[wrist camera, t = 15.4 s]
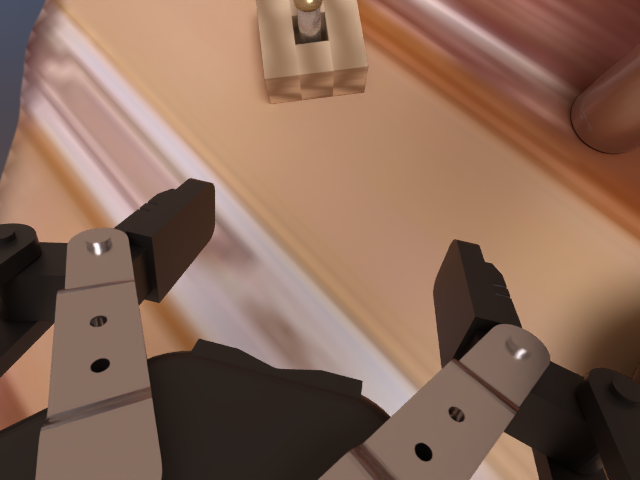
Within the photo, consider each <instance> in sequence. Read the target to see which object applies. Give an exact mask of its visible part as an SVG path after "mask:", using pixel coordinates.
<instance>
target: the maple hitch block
mask: <svg viewBox="0 0 640 480" xmlns="http://www.w3.org/2000/svg"><path fill="white" fill-rule="evenodd" d="M256 5H257V14H258V23H259V32H260V42H261V51H262V60H263V69H264V78H265V83H266V87H267V90H268V94H269V98H270V102H271V104H273V103H281V102H289V101H297V100H305V99H313V98H321V97H329V96H337V95H345V94H353V93H361V92H364V89H365V83H366V77H367V71H368V62H367V56H366V51H365V45H364V39H363V34H362V28H361V22H360V17H359V11H358V5H357V0H323V2H322V5H321V6H320V13H321V42H314V43H306V44H300V36H299V26H298V16H297V8H296V7H295V5H294V3H293V0H256Z"/></svg>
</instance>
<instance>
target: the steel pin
mask: <svg viewBox="0 0 640 480" xmlns="http://www.w3.org/2000/svg"><path fill="white" fill-rule="evenodd" d="M322 2H323V0H293V3H294V5H295V7H296V8H297V16H298V26H299V36H300V44H306V43H314V42H321V13H320V6H321V5H322Z"/></svg>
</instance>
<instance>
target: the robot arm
mask: <svg viewBox="0 0 640 480" xmlns="http://www.w3.org/2000/svg"><path fill="white" fill-rule="evenodd" d="M571 120H572V124H573V127H574V129H575V131H576V133H577V134H578V136H579V137H580V138H581V139H582V140H583V141H584V142H585V143H586V144H588V145H589V146H590V147H592V148H594V149H596V150H598V151H601V152H605V153H614V154H617V153H624V152H627V151H630V150H632V149H634V148H636V147H637V146H639V145H640V42H639V43H638V44H637V45H636V46H634V47H633V48H632V49H631V50H630V51H629V52H628V53H626V54H625V55H624V56H623V57H622V58H621V59H620V60H619V61H617V62H616V63H615V64H614V65H613V66H612V67H611V68H609V69H608V70H607V71H606V72H605V73H604V74H603V75H601V76H600V77H599V78H598V79H597V80H596V81H595V82H594V83H592V84H591V85H590V86H589V87H588V88H587V89H586V90H584V91H583V92H582V93H581V94H580V95H579V96H578V97H577V98H576V100H575V102H574V103H573V106H572V109H571ZM214 228H215V187H214V184H213V183H210V182H205V181H201V180H197V179H192V178H190V179H188V180H187V181H185V182H184V183H183V184H182V185H181V186H179V187H178V188H177V189H176V190H175V189H170V190H167V191H164V192H162V193H159V194H157V195H156V196H154V197H153V198H152V199H151V200H149V201H148V203H145V204H144V205H143V206H142V207H140V210H139V209H138V210H137V211H135V212H134V213H133V214H131V215H130V216H129V217H128V218H126V219H125V220H124V221H122V222H121V223H120V224H119V225H117V226H116V227H115V228H114V229H113V228H95V229H90V230H86V231H83V232H81V233H79V234H77V235H75V236H74V237H73V238H71V240H70V241H69V242H68V243H46V242H39V241H38V238H37V235H36V231H35V230H34V229H33V228H32V227H30V226H28V225H24V224H1V225H0V377H1V376H2V375H3V374H4V373H5V372H6V371H7V370H8V369H9V368H10V367H11V366H12V365H13V364H14V363H15V362H16V361H17V360H18V359H19V358H20V357H21V356H22V355H23V354H24V353H25V352H26V351H27V350H28V349H29V348H30V347H31V346H32V345H33V344H34V343H35V342H36V341H37V340H38V339H39V338H40V337H41V336H42V335H43V334H44V333H45V332H46V331H47V330H48V329H49V328H50V327H51V326H52V325H53V324H54V336H53V349H52V362H51V375H50V388H49V400H48V408H46V409H44V410H42V411H40V412H38V413H36V414H34V415H31V416H29V417H27V418H25V419H23V420H21V421H19V422H17V423H15V424H13V425H11V426H9V427H7V428H5V429H3V430H1V431H0V480H470V478H471V477H472V475H473V474H474V473H475V471H476V470H477V468H478V467H479V465H480V464H481V463H482V461H483V460H484V458H485V457H486V455H487V454H488V453H489V451H490V450H491V448H492V447H493V446H494V444H495V443H496V441H497V440H498V438H499V437H500V436H501V434H502V433H503V432H505V433H507V434H509V435H510V436H512V437H514V438H516V439H517V440H519V441H521V442H523V443H525V444H526V445H528V446H530V447H532V451H533V455H534V459H535V463H536V467H537V472H538V476H539V480H607V478H606V476H605V473H604V471H603V467H604V468H605V470H606V473H607V475H608V478H609V480H640V386H639V385H638V384H637V383H635V382H634V381H633V380H631V379H630V378H628V377H626V376H624V375H623V374H621V373H618V372H616V371H613V370H610V369H606V368H595V369H593V370H591V371H590V372H589V373H588V374H587V376H586V377H585V378H584V377H582V376H580V375H578V374H576V373H573V372H571V371H569V370H567V369H565V368H563V367H561V366H559V365H557V364H555V363H553V362H551V361H550V355H549V352H548V350H547V348H546V347H545V346H544V344H543V343H542V342H541V341H540V340H539V339H538V338H537V337H535V336H534V335H533V334H531V333H530V332H528V331H526V330H524V329H522V326H521V323H520V321H519V318H518V315H517V313H516V310H515V307H514V305H513V302H512V299H510V294H509V291H508V289H506V287H507V286H506V284H505V281H504V278H503V276H502V274H501V273H500V272H499V271H498V270H497V269H496V268H495V266H494V265H493V264H492V263H487V262H485V261H484V258H483V255H482V252H481V249H480V246H479V245H477V244H473V243H469V242H464V241H460V240H456V239H455V240H453V241H452V243H451V245H450V247H449V249H448V251H447V254H446V256H445V258H444V261H443V263H442V265H441V268H440V270H439V272H438V275H437V277H436V280H435V284H434V290H433V297H434V305H435V314H436V323H437V332H438V340H439V349H440V358H441V366H442V369H441V370H440V371H439V372H438V373H437V374H436V375H435V376H434V377H433V378H432V379H431V380H430V381H429V382H428V383H427V384H426V385H425V386H423V387H422V388H421V389H420V390H419V391H418V392H417V393H416V394H415V395H414V396H413V397H412V398H411V399H410V400H409V401H408V402H407V403H405V404H404V405H403V406H402V407H401V408H400V409H399V410H398V411H397V412H396V413H395V414H394V415H393V416H392V417H390V416H389V415H388V414H387V413H386V412H385V411H384V410H383V409H382V408H381V407H379V406H378V405H377V404H376V403H374V402H373V401H371V400H370V399H368V398H366V397H365V396H363V395H361V391H362V381H361V380H357V379H353V378H349V377H345V376H341V375H337V374H334V373H330V372H326V371H322V370H294V369H277V368H274V367H272V366H270V365H268V364H266V363H264V362H262V361H260V360H258V359H256V358H255V357H253V356H251V355H249V354H247V353H245V352H243V351H241V350H239V349H237V348H233V347H229V346H225V345H221V344H217V343H214V342H210V341H206V340H202V339H199V340H198V341H197V343H196V345H195V346H194V348H193V349H192V351H179V352H172V353H166V354H162V355H158V356H155V357H152V358H149V359H147V355H146V348H145V342H144V335H143V329H142V322H141V316H140V309H139V305H140V304H141V303H142V301H143V300H144V299H145V300H149V301H153V302H157V303H160V302H161V300H162V299H163V298H164V297H165V295H166V294H167V293H168V292H169V291H170V289H171V288H172V287H173V286H174V284H175V283H176V282H177V281H178V279H179V278H180V277H181V276H182V274H183V273H184V272H185V271H186V269H187V268H188V267H189V266H190V264H191V263H192V262H193V261H194V260H195V258H196V257H197V256H198V255H199V253H200V252H201V251H202V250H203V248H204V247H205V246H206V245H207V243H208V242H209V241H210V239H211V237H212V235H213V232H214Z"/></svg>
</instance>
